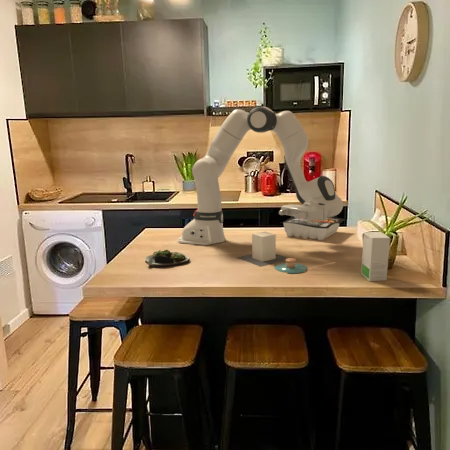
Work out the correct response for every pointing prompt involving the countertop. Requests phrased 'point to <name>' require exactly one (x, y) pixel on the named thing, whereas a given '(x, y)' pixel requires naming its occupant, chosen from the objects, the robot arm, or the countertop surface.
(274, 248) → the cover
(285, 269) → the teal pot lid
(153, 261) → the salad plate
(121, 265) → the countertop surface
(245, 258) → the mat
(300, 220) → the food packaging
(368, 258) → the skincare box
